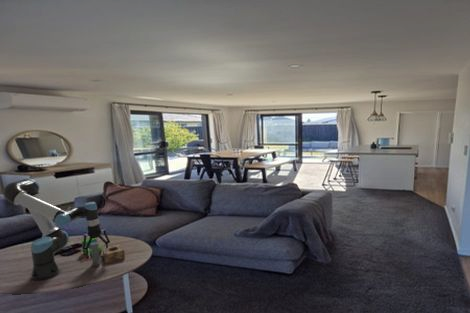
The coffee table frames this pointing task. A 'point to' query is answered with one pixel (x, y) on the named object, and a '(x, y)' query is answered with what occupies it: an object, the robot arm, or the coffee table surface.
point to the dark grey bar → (95, 253)
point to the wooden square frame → (113, 253)
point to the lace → (89, 259)
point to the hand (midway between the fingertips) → (98, 255)
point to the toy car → (90, 246)
